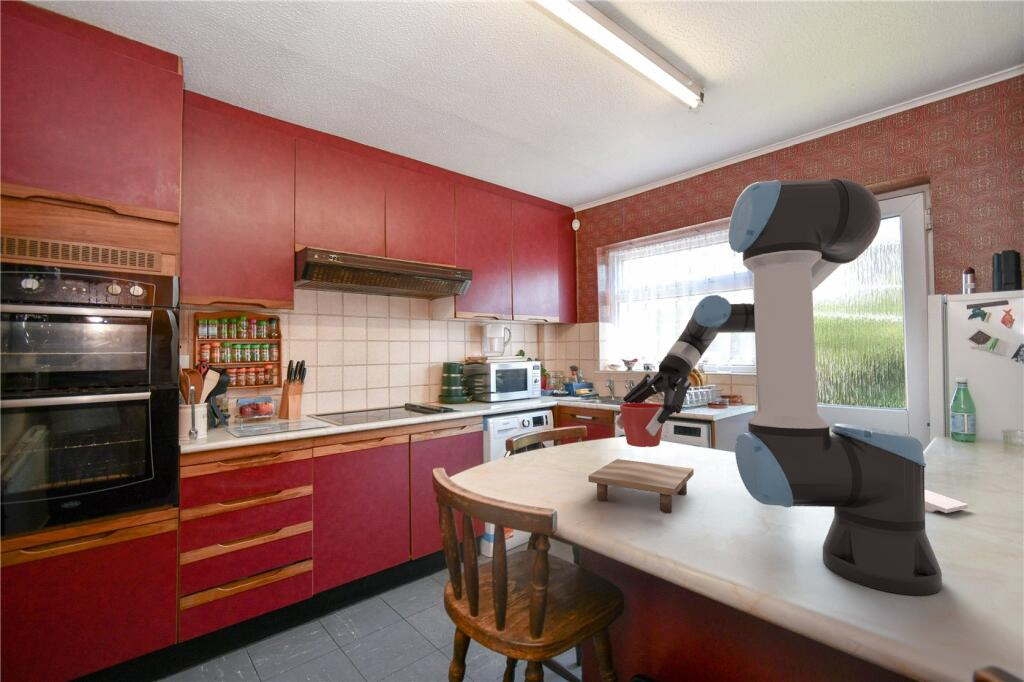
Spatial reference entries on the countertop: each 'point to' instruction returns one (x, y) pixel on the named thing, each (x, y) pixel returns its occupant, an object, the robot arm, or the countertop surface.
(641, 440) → the flower pot
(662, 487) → the walnut stool
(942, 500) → the wall bracket
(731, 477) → the countertop surface
